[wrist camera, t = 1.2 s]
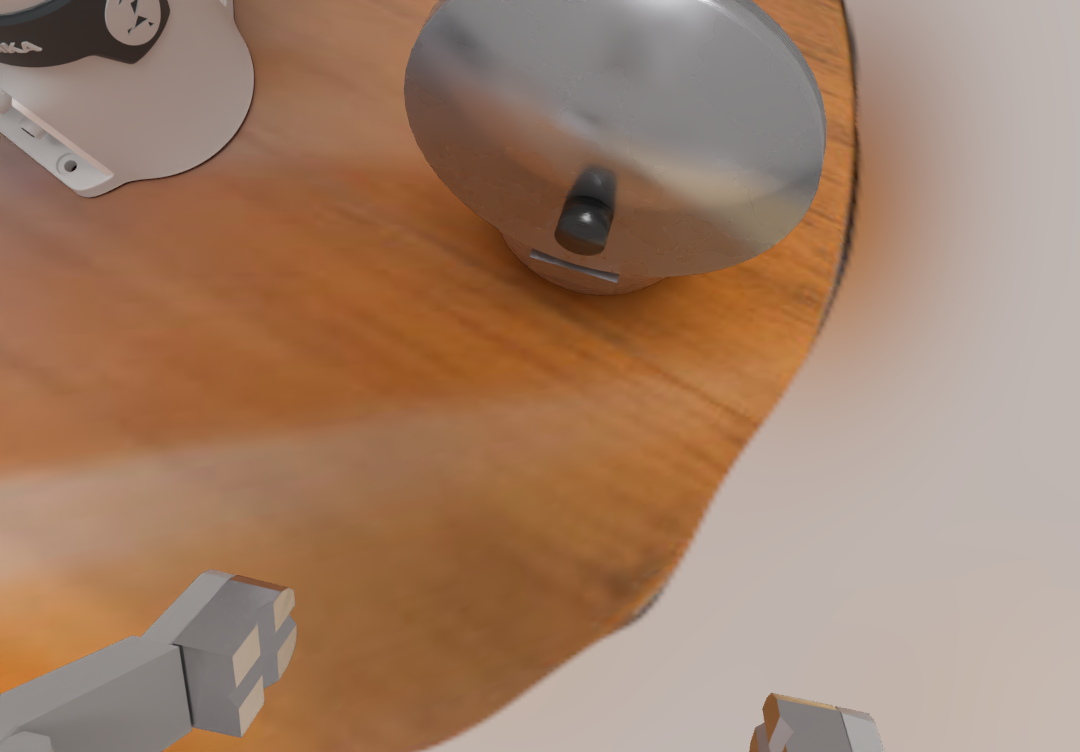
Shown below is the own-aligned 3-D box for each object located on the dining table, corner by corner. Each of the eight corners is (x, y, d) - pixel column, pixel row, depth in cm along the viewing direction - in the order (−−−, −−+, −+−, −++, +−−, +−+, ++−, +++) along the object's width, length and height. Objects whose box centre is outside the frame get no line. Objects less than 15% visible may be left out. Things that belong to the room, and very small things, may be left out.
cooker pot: (397, 264, 45) (363, 205, 36) (475, 44, 48) (463, -66, 39) (673, 347, 45) (715, 310, 35) (735, 120, 48) (789, 28, 38)
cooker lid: (431, 201, 36) (413, 243, 35) (385, -125, 20) (351, -61, 19) (731, 290, 35) (721, 335, 34) (934, 33, 19) (926, 105, 18)
